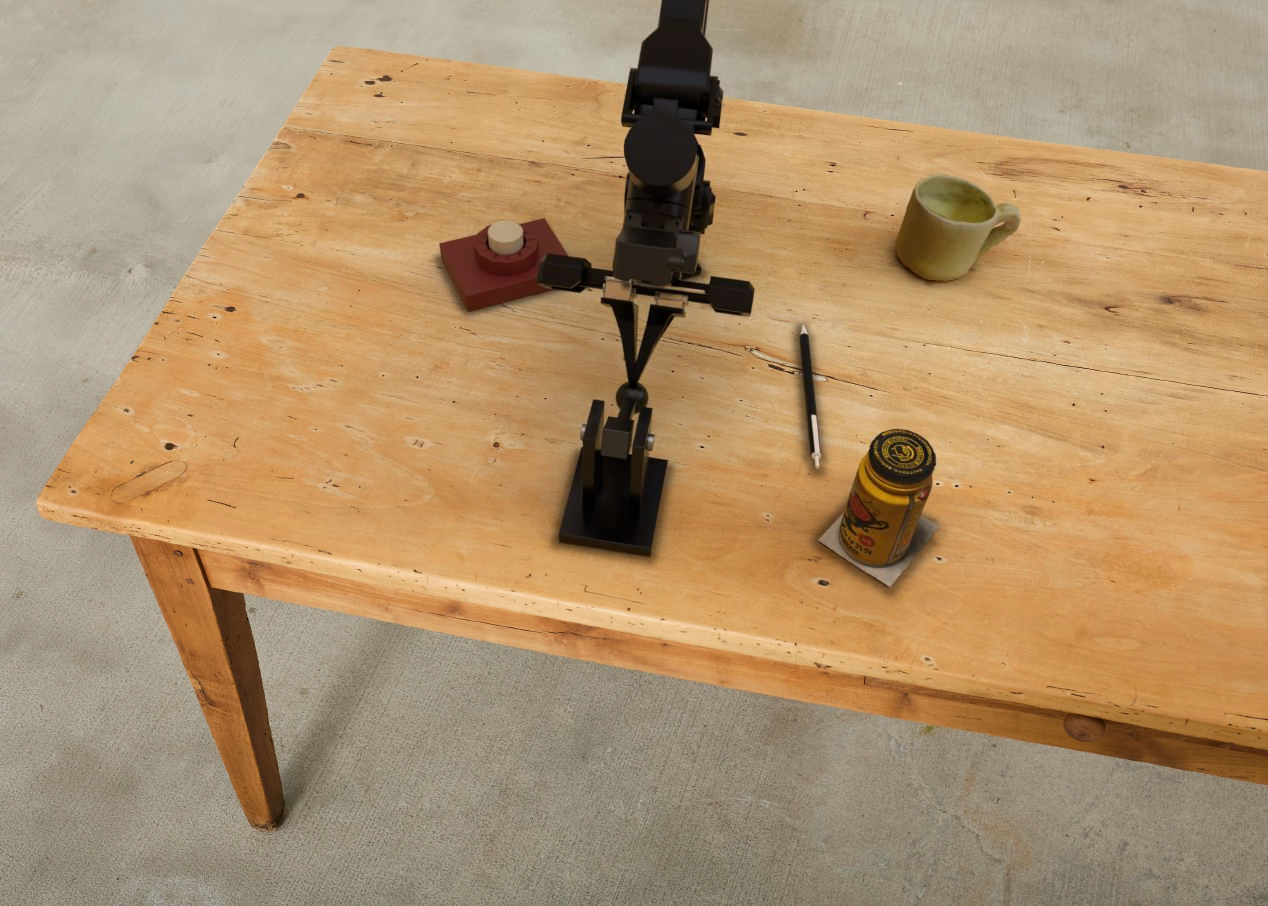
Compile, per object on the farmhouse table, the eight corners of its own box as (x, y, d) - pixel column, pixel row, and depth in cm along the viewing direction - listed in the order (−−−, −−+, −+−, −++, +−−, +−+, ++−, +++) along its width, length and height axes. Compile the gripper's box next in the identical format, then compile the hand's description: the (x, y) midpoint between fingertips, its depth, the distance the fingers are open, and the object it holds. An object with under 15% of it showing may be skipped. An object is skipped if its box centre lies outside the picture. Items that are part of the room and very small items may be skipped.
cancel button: (516, 230, 112) (515, 216, 110) (528, 250, 110) (527, 237, 108) (484, 238, 111) (482, 224, 109) (495, 258, 109) (494, 245, 107)
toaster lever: (616, 404, 97) (619, 374, 95) (648, 409, 96) (652, 379, 95) (595, 458, 86) (598, 424, 85) (631, 463, 86) (635, 430, 84)
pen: (811, 470, 97) (813, 462, 96) (797, 327, 109) (799, 319, 108) (821, 471, 97) (823, 463, 96) (806, 328, 109) (808, 320, 108)
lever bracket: (581, 454, 97) (581, 372, 89) (667, 467, 96) (675, 385, 88) (558, 542, 90) (556, 462, 82) (650, 557, 90) (658, 477, 82)
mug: (884, 273, 112) (925, 186, 107) (879, 240, 121) (916, 158, 115) (992, 310, 113) (1038, 225, 107) (979, 275, 121) (1021, 194, 116)
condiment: (817, 541, 92) (843, 452, 82) (869, 484, 96) (899, 394, 87) (889, 589, 89) (925, 502, 80) (939, 528, 93) (978, 439, 84)
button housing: (545, 233, 117) (544, 204, 114) (575, 283, 112) (575, 253, 109) (441, 259, 114) (437, 229, 111) (467, 312, 109) (464, 282, 105)
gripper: (537, 175, 85) (511, 367, 86) (768, 205, 83) (738, 401, 85) (559, 197, 96) (536, 368, 97) (763, 225, 94) (737, 397, 96)
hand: (633, 383), depth 93 cm, fingers closed, pressing on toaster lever
